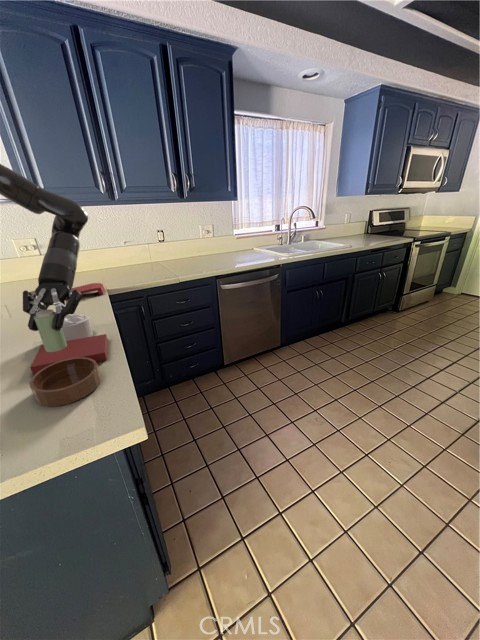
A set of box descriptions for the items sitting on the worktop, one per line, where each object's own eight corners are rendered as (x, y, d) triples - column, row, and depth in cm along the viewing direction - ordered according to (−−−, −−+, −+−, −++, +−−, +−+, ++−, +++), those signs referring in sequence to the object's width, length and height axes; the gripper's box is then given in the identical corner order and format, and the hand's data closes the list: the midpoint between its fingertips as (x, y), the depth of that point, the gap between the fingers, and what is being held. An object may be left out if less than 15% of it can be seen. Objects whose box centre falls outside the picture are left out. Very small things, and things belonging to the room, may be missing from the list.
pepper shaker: (43, 353, 66) (29, 317, 62) (47, 345, 70) (35, 310, 66) (65, 349, 68) (53, 314, 63) (68, 341, 72) (57, 307, 67)
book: (33, 375, 79) (29, 367, 78) (43, 352, 90) (40, 345, 89) (106, 360, 86) (104, 352, 85) (107, 341, 98) (106, 333, 96)
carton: (53, 307, 138) (102, 295, 144) (48, 299, 136) (99, 286, 142) (59, 300, 149) (105, 288, 154) (55, 292, 146) (102, 280, 152)
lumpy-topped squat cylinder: (54, 336, 101) (47, 315, 98) (92, 328, 107) (87, 309, 103) (52, 348, 93) (44, 326, 89) (93, 339, 99) (87, 318, 95)
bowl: (28, 415, 64) (21, 399, 62) (43, 378, 77) (38, 364, 75) (99, 397, 70) (95, 382, 68) (102, 366, 83) (98, 352, 81)
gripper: (20, 261, 67) (1, 325, 61) (78, 261, 67) (65, 324, 61) (41, 276, 74) (25, 335, 68) (93, 276, 74) (82, 333, 68)
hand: (44, 329), depth 64 cm, fingers closed on pepper shaker, 4 cm apart
